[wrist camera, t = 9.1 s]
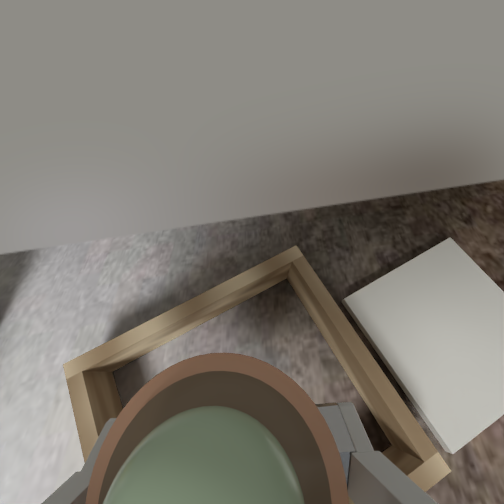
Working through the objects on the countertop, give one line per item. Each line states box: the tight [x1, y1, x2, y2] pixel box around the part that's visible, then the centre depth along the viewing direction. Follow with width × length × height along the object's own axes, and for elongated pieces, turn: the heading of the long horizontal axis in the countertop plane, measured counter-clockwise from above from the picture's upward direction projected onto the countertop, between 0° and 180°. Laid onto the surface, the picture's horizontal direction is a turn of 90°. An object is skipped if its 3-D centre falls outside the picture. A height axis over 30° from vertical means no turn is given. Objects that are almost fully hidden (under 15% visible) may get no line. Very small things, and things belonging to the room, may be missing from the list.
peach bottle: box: [85, 353, 349, 504], centre depth 8 cm, size 5×5×12 cm
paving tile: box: [341, 237, 504, 454], centre depth 21 cm, size 12×12×1 cm
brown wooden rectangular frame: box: [63, 246, 451, 504], centre depth 18 cm, size 18×16×4 cm
